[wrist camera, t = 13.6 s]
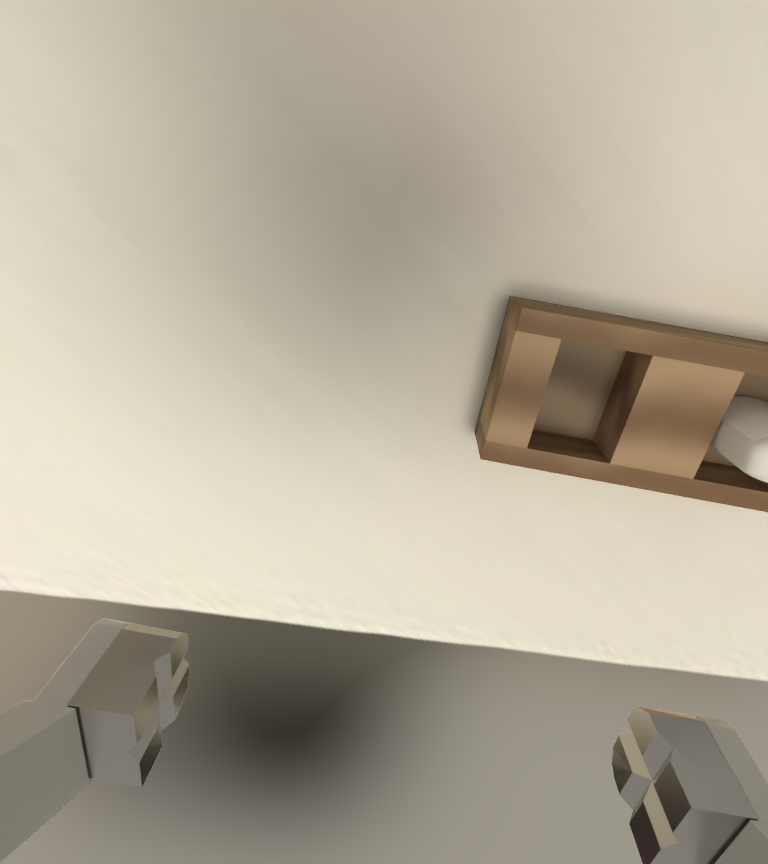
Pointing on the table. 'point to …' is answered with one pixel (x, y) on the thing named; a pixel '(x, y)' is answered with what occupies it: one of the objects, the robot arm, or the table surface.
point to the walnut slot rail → (619, 401)
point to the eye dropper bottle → (745, 436)
